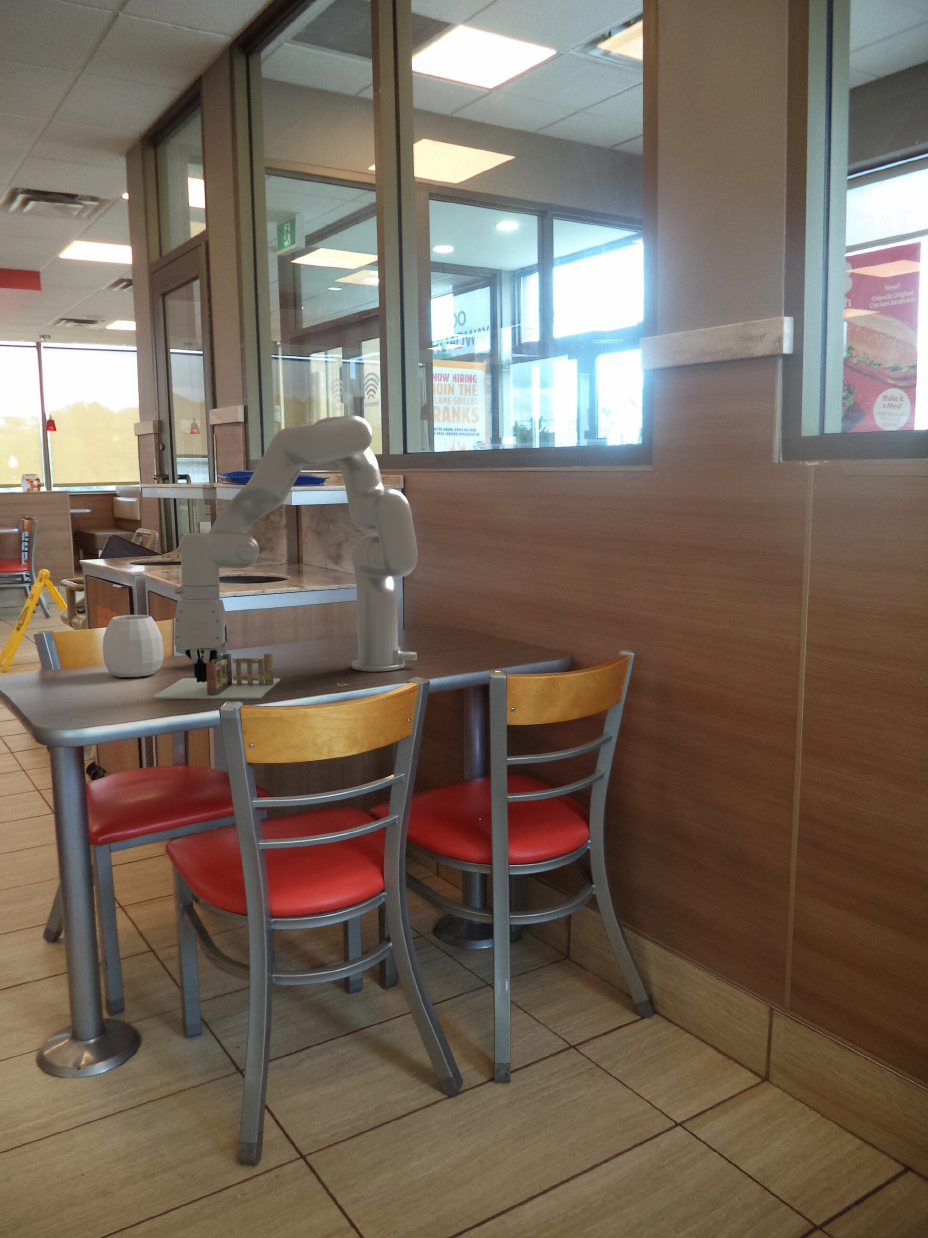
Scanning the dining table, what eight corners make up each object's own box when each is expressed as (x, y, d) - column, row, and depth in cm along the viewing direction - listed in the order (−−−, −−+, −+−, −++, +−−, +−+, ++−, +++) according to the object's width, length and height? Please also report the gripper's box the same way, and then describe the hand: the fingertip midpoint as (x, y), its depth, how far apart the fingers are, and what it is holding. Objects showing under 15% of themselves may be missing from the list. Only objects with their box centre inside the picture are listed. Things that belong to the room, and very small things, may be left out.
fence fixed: (274, 685, 210) (273, 653, 209) (272, 687, 208) (271, 655, 207) (225, 685, 210) (223, 653, 209) (222, 687, 208) (221, 655, 207)
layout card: (280, 680, 215) (280, 678, 215) (259, 698, 196) (259, 696, 196) (182, 680, 216) (182, 678, 216) (152, 698, 197) (152, 696, 197)
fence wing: (221, 684, 208) (220, 654, 207) (230, 684, 208) (228, 654, 207) (206, 694, 198) (204, 663, 197) (214, 694, 198) (213, 663, 197)
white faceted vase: (130, 683, 213) (127, 622, 211) (91, 677, 220) (88, 618, 218) (176, 673, 224) (174, 615, 222) (138, 667, 231) (135, 612, 229)
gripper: (158, 594, 196) (161, 684, 198) (231, 595, 195) (233, 685, 197) (171, 591, 203) (173, 677, 205) (241, 592, 203) (242, 678, 205)
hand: (202, 680), depth 201 cm, fingers closed
